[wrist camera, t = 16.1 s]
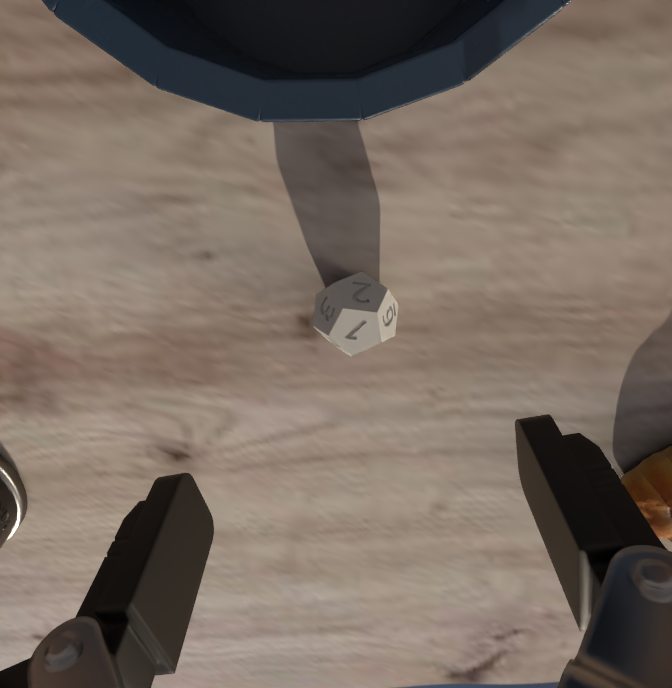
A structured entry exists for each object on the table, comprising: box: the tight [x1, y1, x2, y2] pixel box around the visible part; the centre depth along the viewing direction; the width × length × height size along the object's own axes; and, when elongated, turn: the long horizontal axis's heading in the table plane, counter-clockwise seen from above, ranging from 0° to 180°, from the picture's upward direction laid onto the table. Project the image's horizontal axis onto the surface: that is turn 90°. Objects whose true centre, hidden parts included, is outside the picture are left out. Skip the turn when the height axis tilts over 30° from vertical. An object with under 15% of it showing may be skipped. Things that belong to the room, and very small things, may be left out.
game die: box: [313, 271, 398, 356], centre depth 21 cm, size 4×4×3 cm
